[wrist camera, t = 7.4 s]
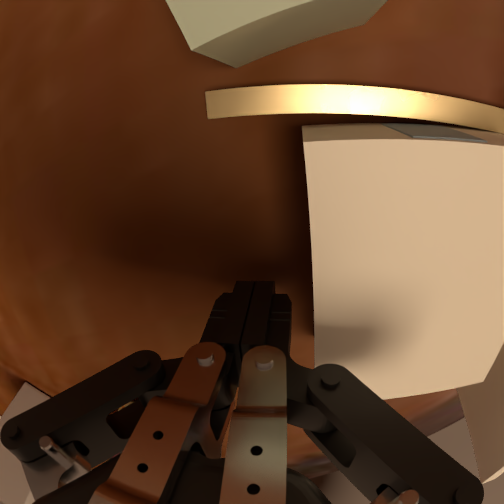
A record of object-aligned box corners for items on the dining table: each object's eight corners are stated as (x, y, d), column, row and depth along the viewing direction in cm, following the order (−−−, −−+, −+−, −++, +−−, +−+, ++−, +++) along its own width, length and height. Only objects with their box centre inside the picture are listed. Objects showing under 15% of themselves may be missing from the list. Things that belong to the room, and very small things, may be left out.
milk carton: (74, 409, 26) (8, 541, 9) (83, 432, 29) (31, 545, 13) (25, 379, 25) (-44, 497, 9) (39, 407, 29) (-17, 510, 13)
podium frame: (211, 91, 10) (205, 91, 9) (519, 114, 8) (530, 117, 7) (247, 386, 18) (245, 396, 17) (446, 379, 16) (449, 388, 15)
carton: (301, 123, 11) (303, 139, 7) (485, 127, 9) (553, 152, 5) (314, 332, 15) (314, 404, 11) (455, 320, 14) (482, 382, 10)
